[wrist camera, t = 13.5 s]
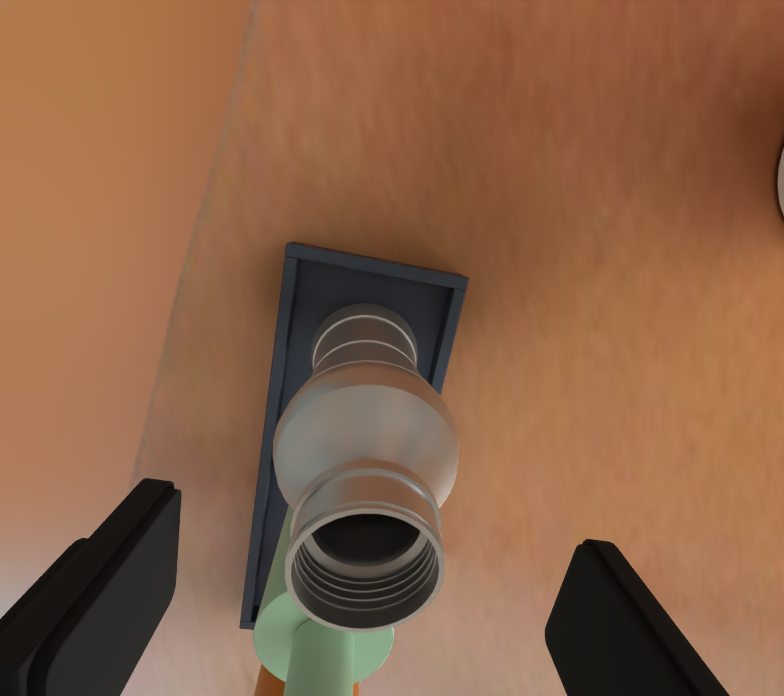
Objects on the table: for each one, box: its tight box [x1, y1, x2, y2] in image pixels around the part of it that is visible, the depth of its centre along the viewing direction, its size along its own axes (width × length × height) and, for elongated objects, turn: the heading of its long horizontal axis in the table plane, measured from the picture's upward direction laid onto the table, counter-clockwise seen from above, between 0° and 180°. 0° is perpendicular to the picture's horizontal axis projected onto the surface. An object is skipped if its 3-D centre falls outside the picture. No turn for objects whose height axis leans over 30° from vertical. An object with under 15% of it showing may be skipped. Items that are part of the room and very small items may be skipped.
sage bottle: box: [253, 506, 394, 696], centre depth 22 cm, size 6×6×18 cm
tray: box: [240, 242, 469, 630], centre depth 31 cm, size 31×12×2 cm, turn 169°
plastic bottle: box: [273, 303, 460, 633], centre depth 19 cm, size 6×7×20 cm
